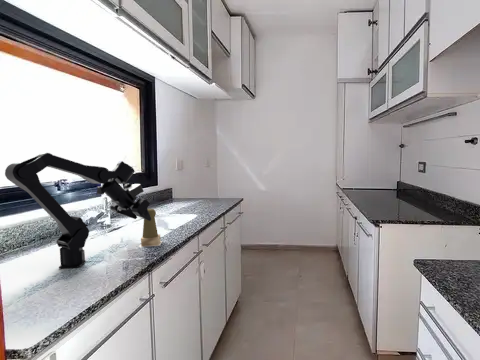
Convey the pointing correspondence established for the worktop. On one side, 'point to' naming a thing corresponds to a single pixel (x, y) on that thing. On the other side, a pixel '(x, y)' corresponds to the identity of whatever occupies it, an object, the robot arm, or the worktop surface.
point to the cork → (150, 226)
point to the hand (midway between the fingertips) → (143, 219)
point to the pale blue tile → (154, 245)
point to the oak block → (150, 241)
